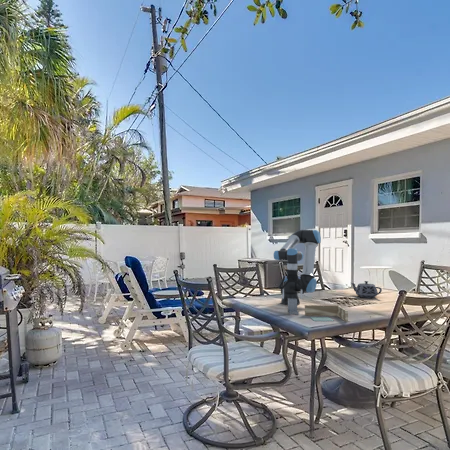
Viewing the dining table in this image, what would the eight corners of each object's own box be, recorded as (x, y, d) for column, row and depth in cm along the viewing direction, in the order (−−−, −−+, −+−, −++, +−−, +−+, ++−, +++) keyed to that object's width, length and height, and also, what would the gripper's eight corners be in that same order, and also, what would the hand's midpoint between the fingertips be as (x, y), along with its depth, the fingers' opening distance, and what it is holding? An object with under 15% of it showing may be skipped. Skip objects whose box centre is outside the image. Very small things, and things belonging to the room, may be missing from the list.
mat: (310, 317, 226) (310, 316, 226) (329, 317, 226) (329, 317, 226) (314, 321, 216) (314, 320, 216) (333, 321, 216) (333, 320, 216)
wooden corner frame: (304, 315, 233) (304, 305, 233) (338, 315, 232) (338, 305, 233) (311, 321, 215) (311, 310, 215) (348, 321, 214) (347, 310, 215)
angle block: (287, 311, 243) (287, 298, 244) (296, 311, 243) (296, 298, 244) (290, 314, 234) (290, 300, 235) (298, 314, 234) (298, 300, 235)
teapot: (355, 293, 326) (355, 278, 327) (386, 298, 302) (386, 281, 303) (345, 295, 314) (344, 280, 315) (376, 300, 290) (376, 283, 291)
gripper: (276, 269, 239) (276, 299, 238) (310, 270, 239) (310, 299, 237) (274, 268, 246) (274, 297, 245) (307, 269, 246) (308, 297, 245)
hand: (292, 298), depth 241 cm, fingers open, 13 cm apart
